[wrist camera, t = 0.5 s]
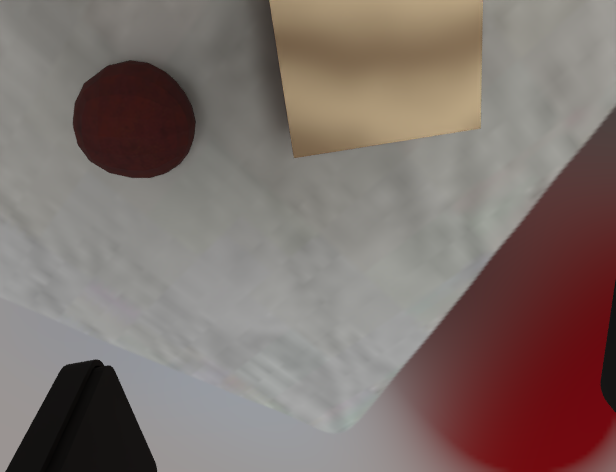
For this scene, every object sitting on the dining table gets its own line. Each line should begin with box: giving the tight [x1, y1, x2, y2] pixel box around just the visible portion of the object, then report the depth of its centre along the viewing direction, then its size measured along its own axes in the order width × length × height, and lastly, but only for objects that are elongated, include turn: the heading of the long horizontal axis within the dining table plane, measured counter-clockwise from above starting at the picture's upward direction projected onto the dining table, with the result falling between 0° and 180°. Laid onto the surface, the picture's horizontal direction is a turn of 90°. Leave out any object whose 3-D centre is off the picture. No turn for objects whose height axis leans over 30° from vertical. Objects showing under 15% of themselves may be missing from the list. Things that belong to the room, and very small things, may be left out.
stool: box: [269, 0, 483, 158], centre depth 31 cm, size 12×12×6 cm
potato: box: [73, 60, 196, 178], centre depth 32 cm, size 7×8×7 cm
